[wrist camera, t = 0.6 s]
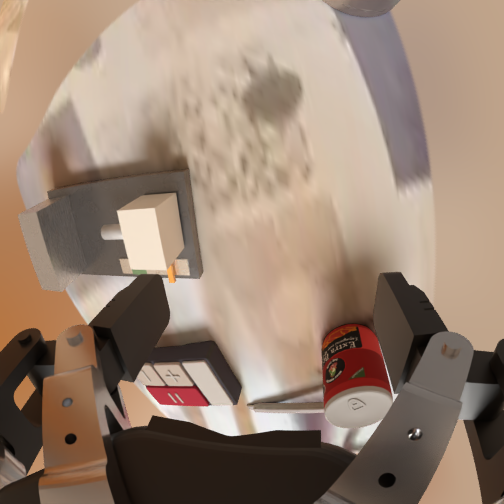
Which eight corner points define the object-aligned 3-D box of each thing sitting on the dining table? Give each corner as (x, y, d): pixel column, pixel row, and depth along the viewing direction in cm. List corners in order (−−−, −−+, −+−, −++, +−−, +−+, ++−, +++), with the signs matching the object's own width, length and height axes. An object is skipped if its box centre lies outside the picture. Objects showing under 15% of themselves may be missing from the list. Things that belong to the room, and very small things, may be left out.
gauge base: (54, 188, 32) (15, 206, 25) (188, 168, 29) (158, 186, 22) (75, 268, 37) (45, 296, 30) (203, 272, 34) (182, 310, 27)
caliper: (369, 379, 39) (375, 412, 34) (370, 383, 40) (375, 415, 34) (247, 403, 45) (241, 433, 39) (249, 406, 45) (244, 436, 40)
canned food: (350, 311, 34) (364, 381, 24) (388, 340, 35) (407, 405, 25) (308, 346, 37) (308, 415, 27) (347, 371, 38) (354, 434, 29)
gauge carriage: (111, 198, 30) (85, 213, 25) (175, 192, 28) (154, 208, 24) (130, 277, 34) (110, 300, 29) (190, 279, 33) (175, 305, 28)
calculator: (123, 364, 40) (205, 361, 35) (135, 346, 44) (214, 339, 39) (158, 406, 44) (237, 409, 39) (167, 389, 48) (242, 387, 43)
